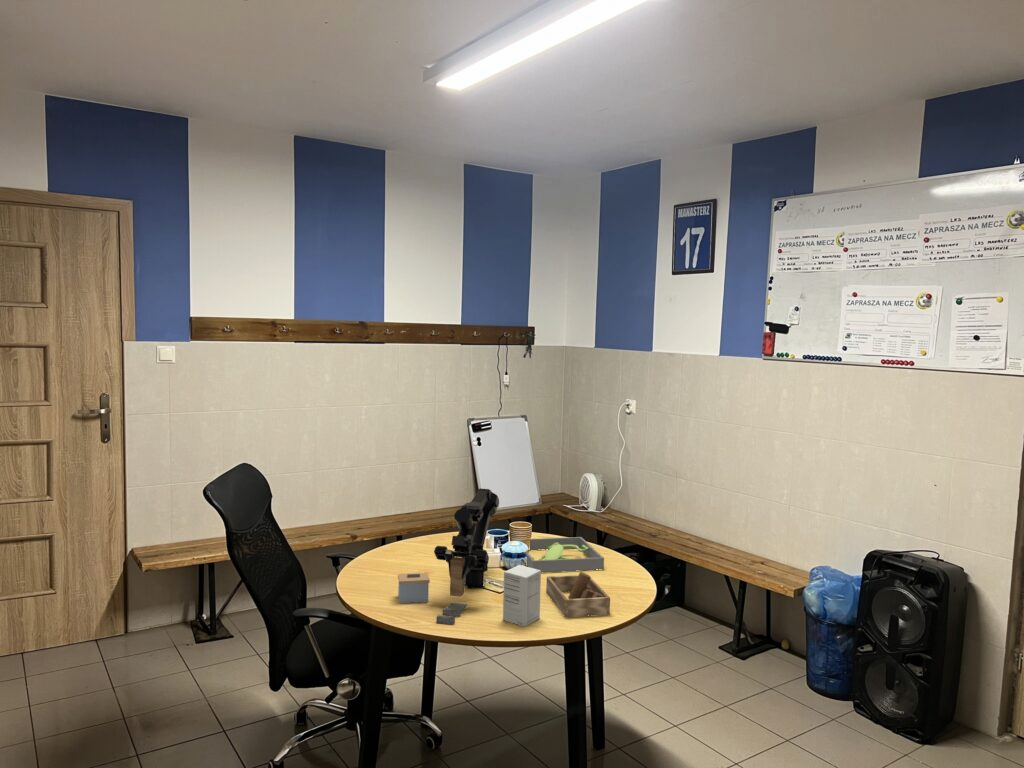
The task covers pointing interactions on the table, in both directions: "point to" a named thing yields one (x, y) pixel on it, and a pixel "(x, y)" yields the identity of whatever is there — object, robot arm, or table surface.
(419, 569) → the table surface
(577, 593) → the wooden block set
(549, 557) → the figurine
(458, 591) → the brown block
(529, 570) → the supplement box
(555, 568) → the tray
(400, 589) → the toolbox
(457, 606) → the pad
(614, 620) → the table surface
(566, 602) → the block corral
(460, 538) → the robot arm
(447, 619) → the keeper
